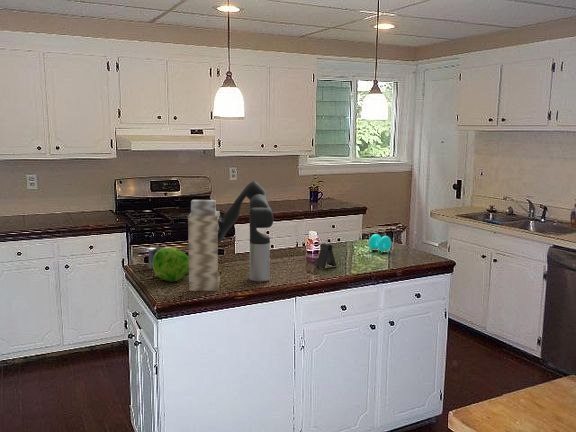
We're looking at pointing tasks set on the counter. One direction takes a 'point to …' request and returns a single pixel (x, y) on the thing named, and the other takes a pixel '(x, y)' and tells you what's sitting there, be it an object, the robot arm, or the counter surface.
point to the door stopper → (325, 256)
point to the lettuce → (170, 264)
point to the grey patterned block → (203, 207)
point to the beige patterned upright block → (203, 252)
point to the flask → (152, 253)
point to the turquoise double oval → (380, 242)
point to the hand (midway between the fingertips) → (208, 212)
